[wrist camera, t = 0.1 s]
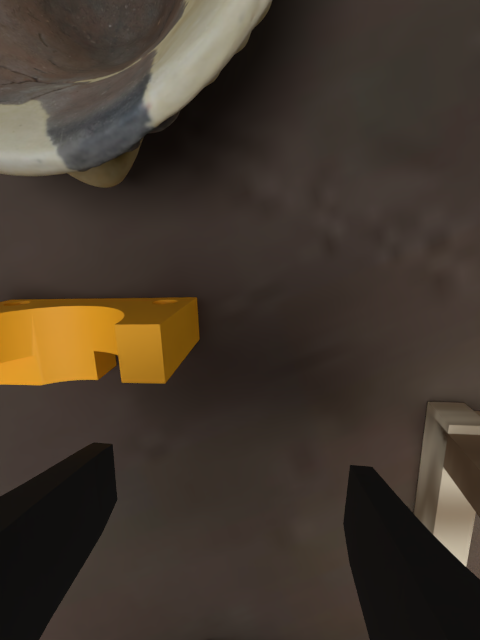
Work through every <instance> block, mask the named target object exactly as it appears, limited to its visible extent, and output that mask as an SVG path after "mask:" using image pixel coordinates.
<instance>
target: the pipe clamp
mask: <svg viewBox="0 0 480 640" xmlns="http://www.w3.org/2000/svg"><path fill="white" fill-rule="evenodd" d="M199 339H200V338H199V322H198V307H197V297H182V298H105V299H28V300H8V301H3V302H0V384H8V385H44V384H50V383H55V382H62V381H71V380H99V379H100V378H101V377H102V376H104V375H105V374H106V373H107V372H109V371H110V370H111V369H112V368H114V367H115V366H116V357H115V354H116V355H118V357H119V365H120V373H121V381H122V383H166V382H167V381H168V379H169V378H170V377H171V375H172V374H173V373H174V372H175V370H176V369H177V368H178V366H179V365H180V364H181V363H182V361H183V360H184V359H185V357H186V356H187V355H188V354H189V352H190V351H191V350H192V348H193V347H194V346H195V345H196V343H197V342H198V341H199Z"/></svg>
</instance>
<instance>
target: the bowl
mask: <svg viewBox="0 0 480 640" xmlns="http://www.w3.org/2000/svg"><path fill="white" fill-rule="evenodd" d="M271 3H272V0H0V174H6V175H14V176H48V175H57V174H64V173H68V174H69V175H71V176H72V177H74V178H76V179H78V180H80V181H82V182H84V183H86V184H89V185H92V186H96V187H101V188H108V187H113V186H115V185H117V184H119V183H120V182H122V181H123V179H124V178H125V177H126V175H127V174H128V172H129V170H130V169H131V167H132V165H133V163H134V161H135V159H136V157H137V154H138V151H139V148H140V145H141V143H142V140H143V137H144V136H145V135H146V134H148V133H156V132H160V131H163V130H164V129H165V128H167V127H168V126H170V125H171V124H172V123H173V122H174V121H175V120H176V119H177V117H178V115H179V113H180V110H181V109H183V108H184V107H185V106H186V105H187V104H188V103H189V102H191V101H192V100H193V99H194V98H195V97H196V96H197V95H198V93H199V92H200V91H201V90H202V89H203V88H204V87H206V86H208V85H209V84H211V83H212V82H214V81H215V80H216V78H217V77H218V76H219V74H220V72H221V70H222V69H223V68H224V67H225V66H226V65H227V63H228V62H229V61H230V60H231V58H232V57H233V56H234V54H236V53H238V52H239V51H241V50H242V49H243V48H244V47H245V46H246V44H247V42H248V40H249V37H250V34H251V31H252V30H253V29H254V28H255V27H256V26H257V25H258V24H259V23H260V22H261V21H262V20H263V19H264V17H265V16H266V14H267V12H268V11H269V8H270V6H271Z"/></svg>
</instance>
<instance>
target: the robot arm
mask: <svg viewBox="0 0 480 640" xmlns="http://www.w3.org/2000/svg"><path fill="white" fill-rule="evenodd" d="M116 501H117V492H116V480H115V468H114V456H113V444H104V443H92V444H90V445H88V446H87V447H85V448H83V449H81V450H79V451H78V452H76V453H74V454H73V455H71V456H69V457H68V458H66V459H64V460H63V461H61V462H59V463H58V464H56V465H54V466H53V467H51V468H49V469H48V470H46V471H44V472H42V473H41V474H39V475H37V476H36V477H34V478H32V479H31V480H29V481H27V482H26V483H24V484H22V485H20V486H19V487H17V488H15V489H13V490H11V491H9V492H8V493H6V494H4V495H2V496H0V640H39V639H40V637H41V635H42V633H43V632H44V630H45V628H46V626H47V625H48V623H49V621H50V619H51V617H52V616H53V614H54V613H55V611H56V609H57V608H58V606H59V604H60V603H61V601H62V599H63V598H64V596H65V594H66V593H67V591H68V589H69V588H70V586H71V584H72V583H73V581H74V579H75V578H76V576H77V574H78V573H79V571H80V570H81V568H82V566H83V565H84V563H85V561H86V560H87V558H88V556H89V554H90V553H91V551H92V549H93V548H94V546H95V544H96V543H97V541H98V539H99V538H100V536H101V534H102V532H103V530H104V528H105V526H106V524H107V521H108V519H109V517H110V515H111V513H112V510H113V508H114V506H115V503H116ZM343 524H344V531H345V537H346V544H347V550H348V556H349V562H350V566H351V570H352V574H353V578H354V582H355V585H356V589H357V593H358V597H359V601H360V604H361V608H362V612H363V616H364V619H365V623H366V627H367V631H368V634H369V638H370V640H480V579H478V578H477V577H476V576H475V575H474V574H473V573H472V572H471V571H470V570H469V569H468V568H467V567H465V566H464V565H463V564H462V563H461V562H460V561H459V560H458V559H457V558H456V557H455V556H454V555H453V554H452V553H451V552H450V551H449V550H448V549H447V548H446V547H445V546H444V545H443V544H442V543H441V542H440V541H439V540H438V539H437V538H436V537H435V536H434V535H433V534H432V533H431V532H430V531H429V530H428V529H427V528H426V527H425V526H424V524H423V523H422V522H421V521H420V520H419V519H418V518H417V517H416V516H415V515H414V514H413V513H412V512H411V510H410V509H409V508H408V507H407V506H406V505H405V504H404V503H403V502H402V500H401V499H400V498H399V497H398V496H397V495H396V494H395V492H394V491H393V490H392V489H391V488H390V487H389V486H388V484H387V483H386V482H385V481H384V480H383V479H382V478H381V476H380V475H379V474H378V473H377V472H376V471H375V470H374V469H373V467H367V466H356V465H350V471H349V480H348V488H347V497H346V506H345V514H344V523H343Z"/></svg>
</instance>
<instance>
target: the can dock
mask: <svg viewBox="0 0 480 640" xmlns="http://www.w3.org/2000/svg"><path fill="white" fill-rule="evenodd" d="M476 513H477V515H478V516H479V517H480V411H473V410H472V409H471V408H470V407H469V406H467V405H466V404H465V403H457V402H428V405H427V413H426V421H425V429H424V437H423V445H422V453H421V461H420V469H419V477H418V485H417V493H416V501H415V509H414V515H415V516H416V517H417V518H418V519H419V520H420V521H421V522H422V523H423V524H424V526H425V527H426V528H427V529H428V530H429V531H430V532H431V533H432V534H433V535H434V536H435V537H436V538H437V539H438V540H439V541H440V542H441V543H442V544H443V545H444V546H445V547H446V548H447V549H448V550H449V551H450V552H451V553H452V554H453V555H454V556H455V557H456V558H457V559H458V560H459V561H460V562H461V563H462V564H463V565H464V566H465V567H466V565H467V559H468V553H469V548H470V542H471V537H472V531H473V525H474V520H475V514H476Z"/></svg>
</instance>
